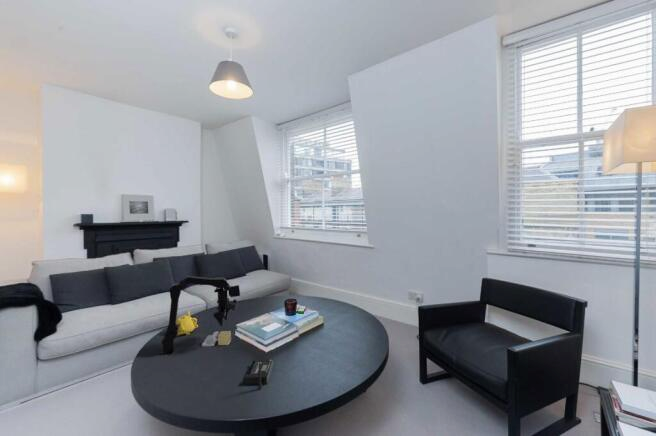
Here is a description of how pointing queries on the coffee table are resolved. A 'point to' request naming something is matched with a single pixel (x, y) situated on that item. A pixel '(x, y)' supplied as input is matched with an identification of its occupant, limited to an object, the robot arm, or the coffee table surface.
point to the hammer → (210, 340)
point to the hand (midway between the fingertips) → (223, 322)
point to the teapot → (186, 324)
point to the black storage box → (259, 372)
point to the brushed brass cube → (224, 338)
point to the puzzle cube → (301, 309)
